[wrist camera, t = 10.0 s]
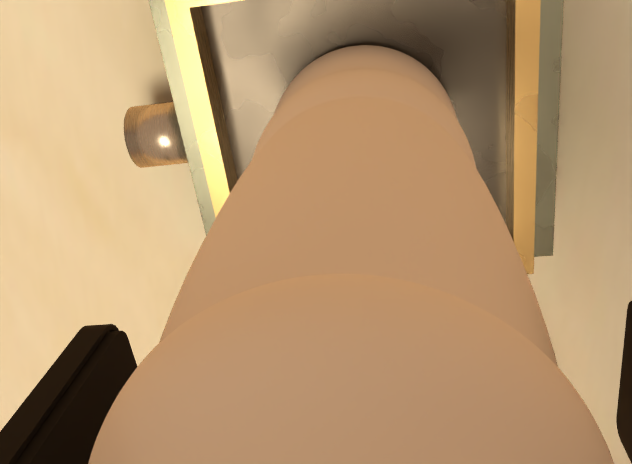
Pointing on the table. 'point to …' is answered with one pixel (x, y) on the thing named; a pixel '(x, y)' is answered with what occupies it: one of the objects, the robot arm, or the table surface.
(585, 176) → the table surface
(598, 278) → the table surface
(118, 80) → the table surface
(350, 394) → the water bottle
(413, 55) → the gearbox
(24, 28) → the table surface
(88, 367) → the robot arm
